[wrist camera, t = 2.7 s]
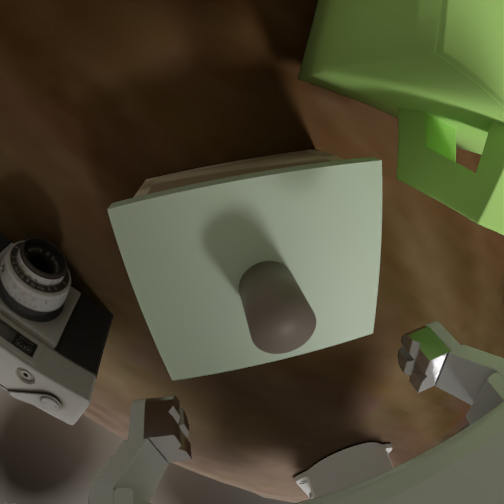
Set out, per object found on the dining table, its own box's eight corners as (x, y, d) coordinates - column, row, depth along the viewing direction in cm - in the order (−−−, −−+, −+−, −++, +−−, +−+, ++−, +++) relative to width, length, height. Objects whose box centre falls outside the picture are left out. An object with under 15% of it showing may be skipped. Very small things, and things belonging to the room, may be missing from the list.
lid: (366, 324, 20) (398, 369, 16) (172, 369, 19) (172, 426, 14) (371, 156, 15) (426, 176, 11) (112, 203, 14) (82, 240, 10)
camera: (139, 285, 23) (117, 381, 15) (95, 345, 25) (71, 433, 16) (4, 184, 18) (-77, 233, 9) (-23, 259, 20) (-83, 324, 11)
